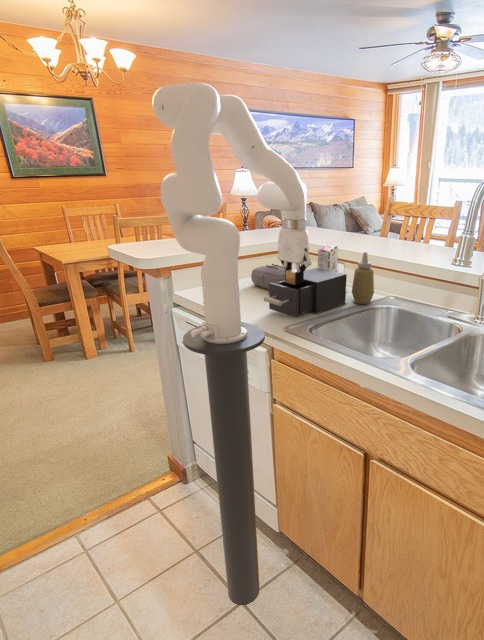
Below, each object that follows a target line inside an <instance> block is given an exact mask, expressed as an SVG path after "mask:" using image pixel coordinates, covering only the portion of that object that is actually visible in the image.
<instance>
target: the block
mask: <svg viewBox="0 0 484 640" xmlns="http://www.w3.org/2000/svg"><path fill="white" fill-rule="evenodd" d="M296 272H297V268H293V269H291V270H286V283H289V284H293V285H296Z"/></svg>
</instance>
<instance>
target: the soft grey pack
mask: <svg viewBox="0 0 484 640" xmlns="http://www.w3.org/2000/svg"><path fill="white" fill-rule="evenodd" d="M250 278H251V282H252V283H253V284H254V285H256V286H258V287H260V288H261V289H262V288H263V289H264V290H269V283H275V284H276V283H277V282H281V281H285V269H284V268H283V265H278V264H274V263H271V265H270V264H269V265H268V264H267V265H261V266H258V267H255V268H254V269H252V270H251V275H250Z"/></svg>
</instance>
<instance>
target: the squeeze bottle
mask: <svg viewBox="0 0 484 640" xmlns="http://www.w3.org/2000/svg"><path fill="white" fill-rule="evenodd" d="M374 281H375V278H374V270H373V269H372V262H370V261H369V257H368V252H367V251H364V252H363V253H362V257H361V260H360V261H358V262H357V267H356V268H355V269H354V273H353V281H352V287H351V295H352V298H353V302H354V303H355V304H360V305H361V304H362V305H367V304H370V303H371V300H372V299H373V297H374V294H375V282H374Z"/></svg>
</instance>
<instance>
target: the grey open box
mask: <svg viewBox="0 0 484 640" xmlns="http://www.w3.org/2000/svg"><path fill="white" fill-rule="evenodd" d="M347 275H348V274H347V273H342V272H338V271H337V272H334V271H329V270H325V269H320V268H318V267H314V268H310V269H307V270H306V269H305V271H304V282H307V283H311V284H315V309H313V310H310V311H307V312H308V313H312V314H315V315H318V314H321V313H323V312H326V311H329V310H332V309H335V308H337V307H340V306H343V305H346V297H347V277H348V276H347Z"/></svg>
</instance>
